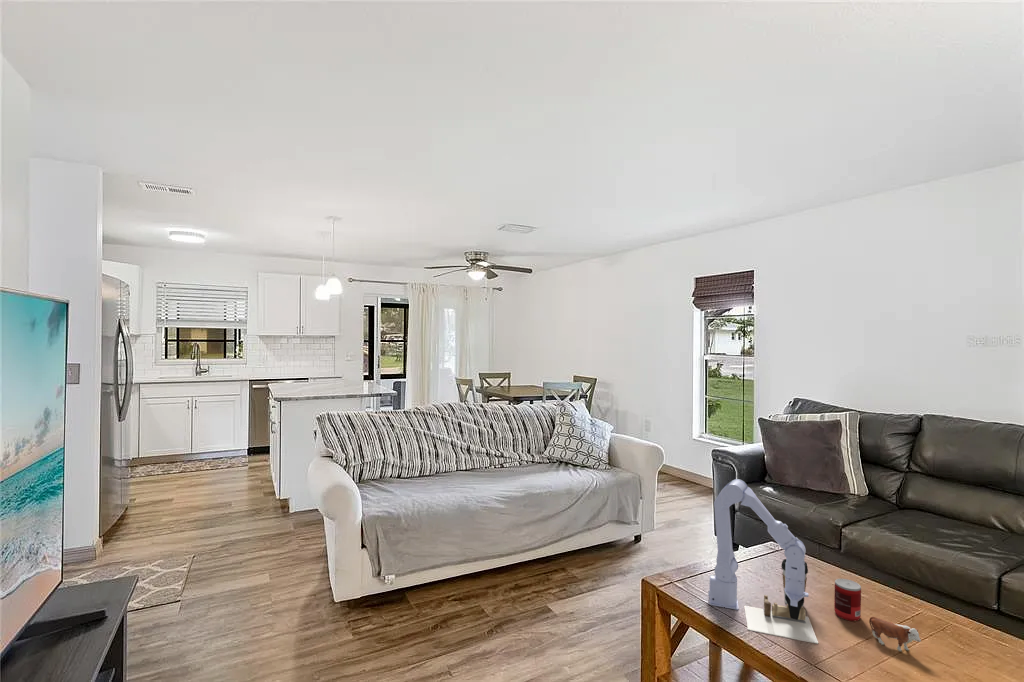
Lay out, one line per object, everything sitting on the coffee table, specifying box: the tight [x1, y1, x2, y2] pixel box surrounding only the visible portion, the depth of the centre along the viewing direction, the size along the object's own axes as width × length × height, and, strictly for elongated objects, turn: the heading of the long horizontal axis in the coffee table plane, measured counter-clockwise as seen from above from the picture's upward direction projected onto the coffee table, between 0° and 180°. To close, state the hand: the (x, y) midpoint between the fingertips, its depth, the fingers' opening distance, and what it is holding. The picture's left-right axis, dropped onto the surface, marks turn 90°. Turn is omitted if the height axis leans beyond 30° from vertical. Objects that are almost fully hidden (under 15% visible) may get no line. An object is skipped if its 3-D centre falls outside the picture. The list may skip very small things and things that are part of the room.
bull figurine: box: [868, 616, 922, 652], centre depth 158 cm, size 4×13×8 cm, turn 36°
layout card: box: [743, 605, 819, 645], centre depth 170 cm, size 20×16×1 cm
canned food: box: [833, 578, 862, 622], centre depth 176 cm, size 8×8×11 cm
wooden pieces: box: [763, 594, 772, 617], centre depth 177 cm, size 2×6×5 cm, turn 159°
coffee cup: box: [780, 558, 809, 607], centre depth 184 cm, size 8×8×15 cm
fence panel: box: [771, 602, 806, 620], centre depth 173 cm, size 10×1×4 cm, turn 75°
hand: (794, 618), depth 171 cm, fingers closed
